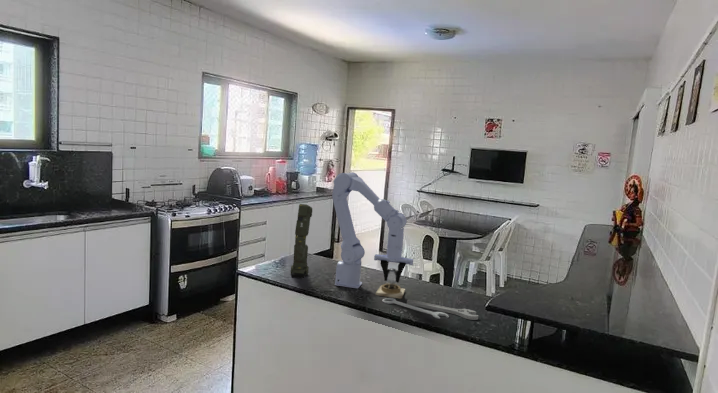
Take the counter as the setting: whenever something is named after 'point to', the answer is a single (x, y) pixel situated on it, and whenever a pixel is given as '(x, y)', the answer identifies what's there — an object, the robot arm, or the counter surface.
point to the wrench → (415, 308)
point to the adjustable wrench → (446, 309)
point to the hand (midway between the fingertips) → (391, 281)
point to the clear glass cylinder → (391, 278)
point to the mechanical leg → (301, 242)
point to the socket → (390, 292)
